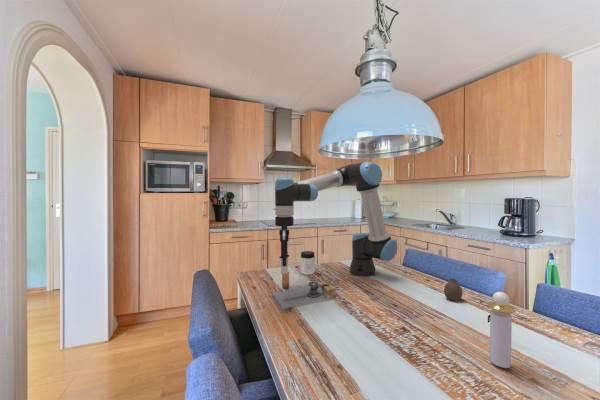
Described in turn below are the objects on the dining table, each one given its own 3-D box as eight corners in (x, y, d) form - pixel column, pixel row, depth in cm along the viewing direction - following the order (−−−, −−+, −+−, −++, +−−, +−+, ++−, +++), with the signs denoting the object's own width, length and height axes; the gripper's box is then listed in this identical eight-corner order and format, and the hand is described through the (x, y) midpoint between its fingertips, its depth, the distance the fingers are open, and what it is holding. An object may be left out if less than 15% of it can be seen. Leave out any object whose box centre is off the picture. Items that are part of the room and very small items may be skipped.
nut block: (331, 294, 117) (331, 285, 117) (336, 297, 113) (336, 288, 113) (323, 295, 116) (323, 286, 116) (327, 299, 112) (327, 289, 112)
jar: (301, 275, 150) (301, 254, 150) (299, 270, 158) (299, 251, 158) (316, 274, 151) (316, 253, 151) (313, 270, 159) (313, 250, 159)
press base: (322, 288, 128) (322, 279, 128) (339, 302, 112) (339, 292, 112) (272, 296, 119) (272, 286, 119) (283, 312, 103) (283, 300, 103)
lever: (325, 289, 121) (325, 265, 121) (330, 292, 117) (330, 268, 117) (280, 296, 113) (280, 271, 113) (283, 300, 109) (283, 274, 109)
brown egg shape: (466, 302, 110) (466, 282, 110) (449, 303, 110) (449, 282, 110) (456, 296, 117) (456, 277, 117) (440, 296, 117) (441, 277, 117)
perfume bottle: (519, 372, 68) (520, 296, 67) (497, 372, 68) (497, 296, 67) (503, 358, 73) (504, 288, 73) (482, 358, 74) (483, 288, 73)
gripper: (276, 214, 113) (276, 268, 113) (274, 217, 100) (274, 278, 100) (293, 214, 113) (293, 268, 114) (293, 217, 100) (293, 278, 101)
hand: (284, 273), depth 107 cm, fingers closed
